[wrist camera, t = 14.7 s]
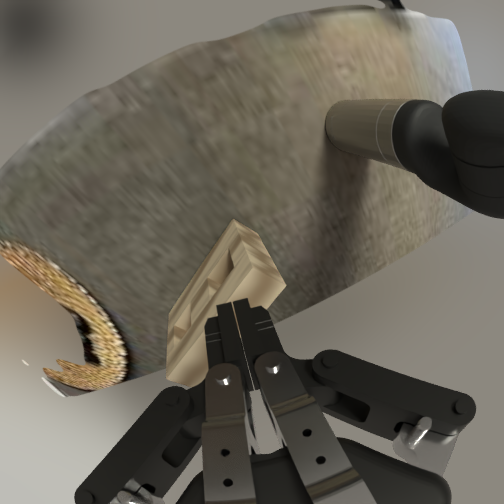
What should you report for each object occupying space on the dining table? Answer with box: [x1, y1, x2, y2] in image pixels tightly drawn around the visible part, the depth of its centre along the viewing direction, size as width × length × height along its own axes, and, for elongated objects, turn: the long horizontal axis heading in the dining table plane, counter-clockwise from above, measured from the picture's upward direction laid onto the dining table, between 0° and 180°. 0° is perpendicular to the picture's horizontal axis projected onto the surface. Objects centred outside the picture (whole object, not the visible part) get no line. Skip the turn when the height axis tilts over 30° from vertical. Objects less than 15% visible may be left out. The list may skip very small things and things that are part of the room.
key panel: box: [166, 219, 286, 387], centre depth 42 cm, size 5×22×16 cm, turn 144°
